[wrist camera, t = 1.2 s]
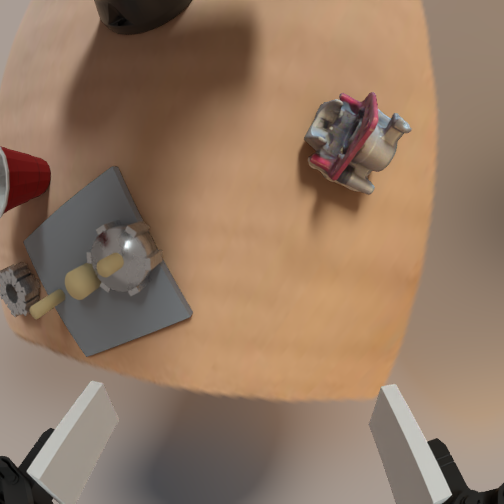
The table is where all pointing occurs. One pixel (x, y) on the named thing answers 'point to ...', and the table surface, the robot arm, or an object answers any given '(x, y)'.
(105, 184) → the plate
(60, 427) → the robot arm
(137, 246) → the seated gear
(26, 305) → the planet gear
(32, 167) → the plastic cup
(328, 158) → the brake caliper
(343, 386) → the table surface
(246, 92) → the table surface
